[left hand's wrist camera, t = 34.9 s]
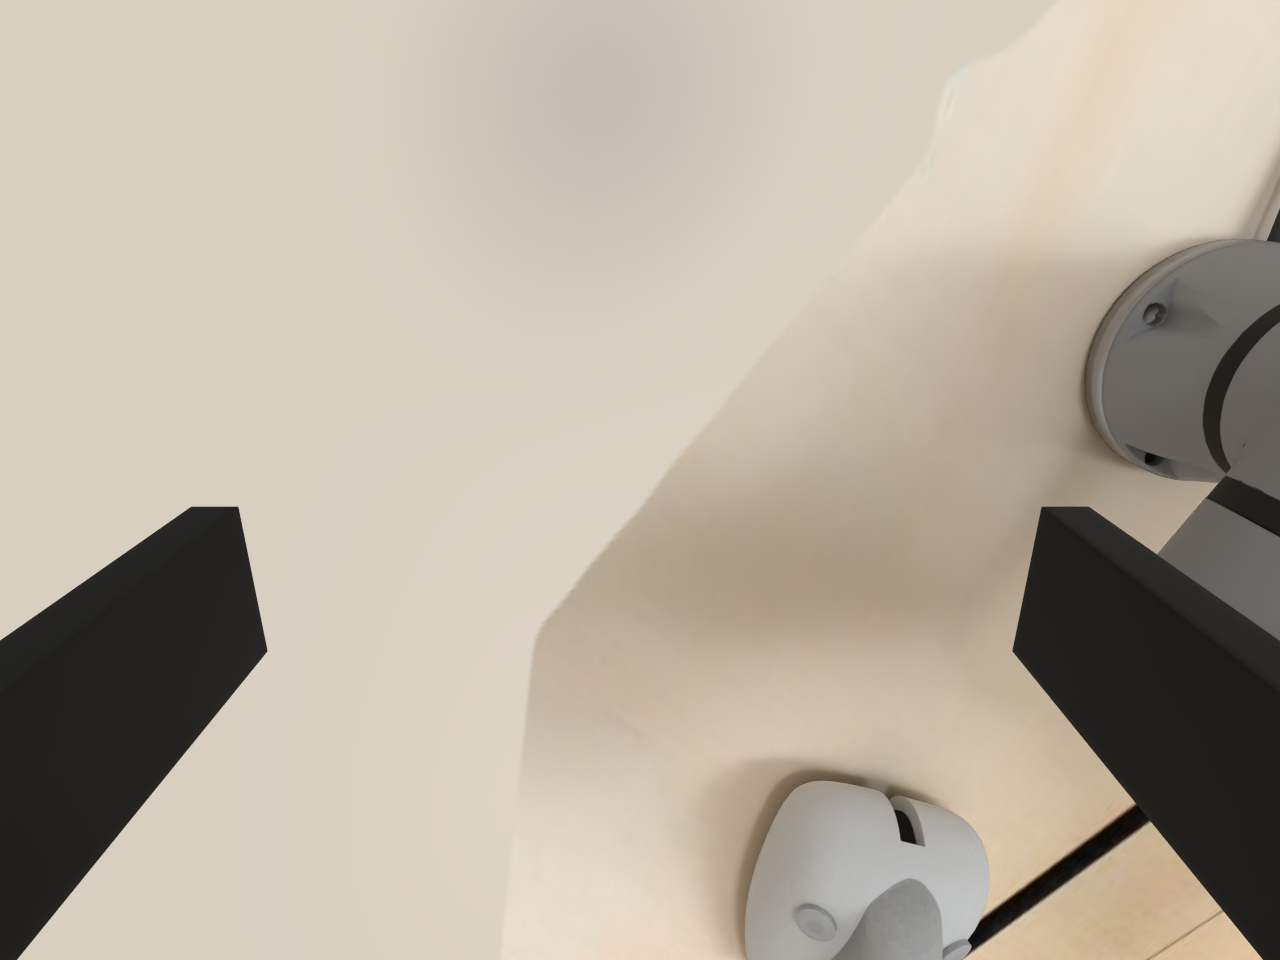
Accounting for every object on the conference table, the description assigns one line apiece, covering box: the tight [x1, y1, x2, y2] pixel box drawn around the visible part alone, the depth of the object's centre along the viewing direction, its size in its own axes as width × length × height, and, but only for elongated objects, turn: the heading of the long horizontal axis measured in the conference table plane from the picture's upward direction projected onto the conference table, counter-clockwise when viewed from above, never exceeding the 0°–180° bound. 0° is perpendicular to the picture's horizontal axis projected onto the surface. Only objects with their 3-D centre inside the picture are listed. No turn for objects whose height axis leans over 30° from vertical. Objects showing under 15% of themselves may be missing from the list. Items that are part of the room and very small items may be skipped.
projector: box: [745, 781, 989, 960], centre depth 58 cm, size 22×23×15 cm
